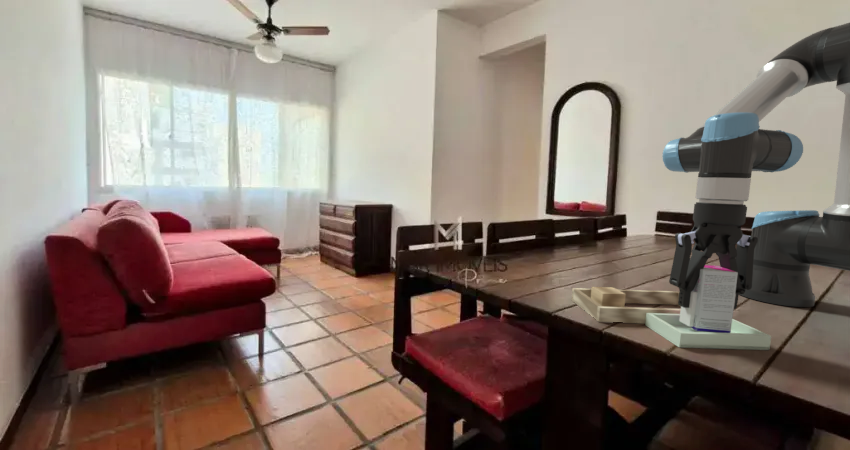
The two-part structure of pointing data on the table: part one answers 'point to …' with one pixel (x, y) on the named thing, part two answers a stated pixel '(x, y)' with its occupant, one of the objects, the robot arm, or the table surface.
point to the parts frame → (626, 313)
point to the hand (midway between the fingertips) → (704, 324)
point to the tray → (707, 334)
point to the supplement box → (715, 299)
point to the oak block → (608, 296)
